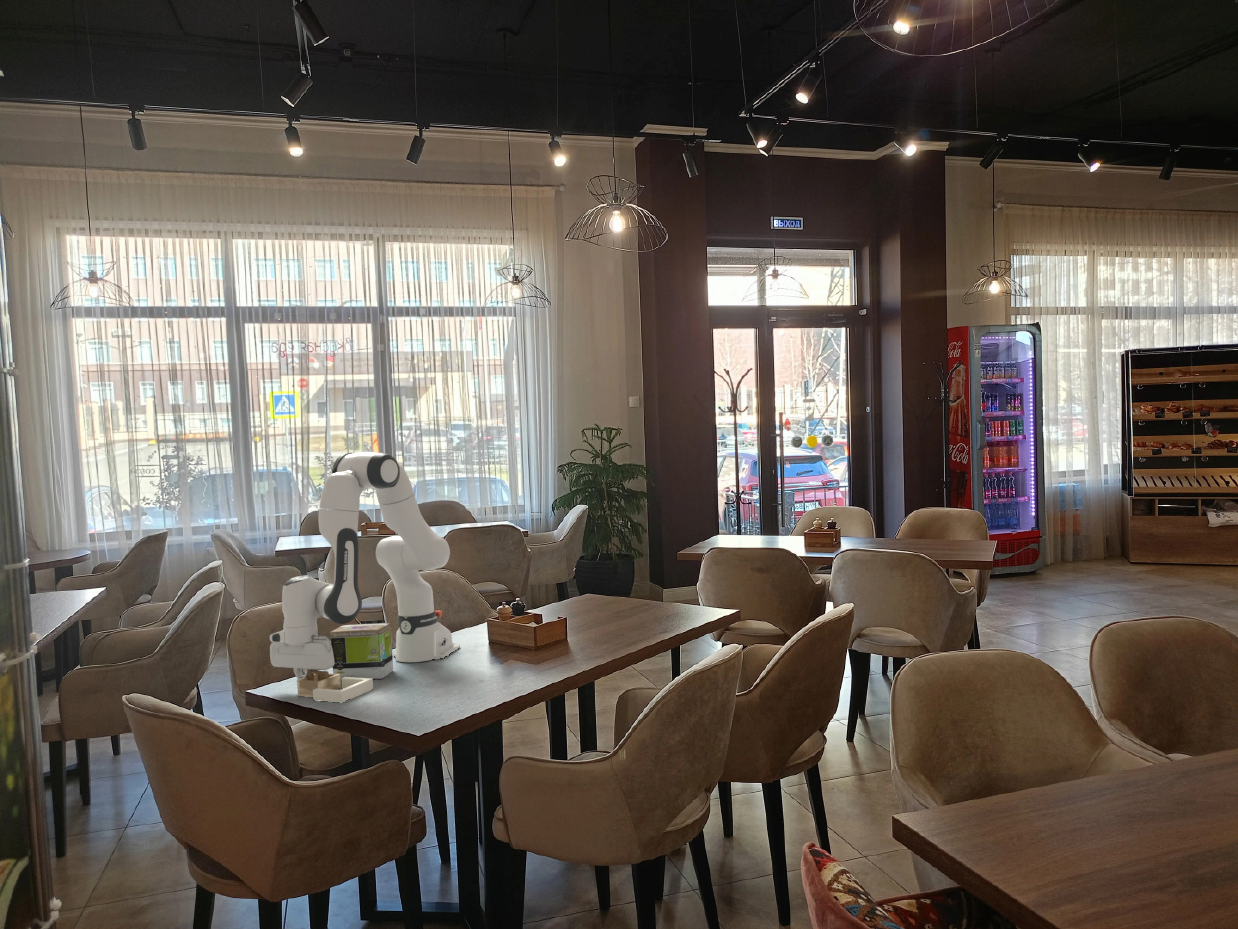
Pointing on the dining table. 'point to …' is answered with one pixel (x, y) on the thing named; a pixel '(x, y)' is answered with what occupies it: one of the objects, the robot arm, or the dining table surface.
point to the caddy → (318, 682)
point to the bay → (345, 690)
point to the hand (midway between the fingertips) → (303, 683)
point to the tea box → (362, 650)
